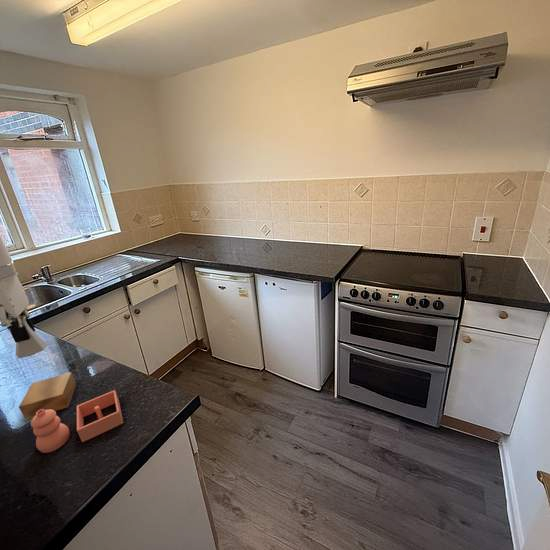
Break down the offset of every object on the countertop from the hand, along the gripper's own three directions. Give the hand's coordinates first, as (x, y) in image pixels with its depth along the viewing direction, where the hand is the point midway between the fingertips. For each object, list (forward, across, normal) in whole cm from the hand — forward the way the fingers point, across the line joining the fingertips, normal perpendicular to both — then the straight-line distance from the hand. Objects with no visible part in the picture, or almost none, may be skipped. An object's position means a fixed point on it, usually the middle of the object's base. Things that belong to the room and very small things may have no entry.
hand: (25, 336), depth 80 cm
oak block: (+21, +3, +1) cm, 21 cm away
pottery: (+21, +18, +11) cm, 30 cm away
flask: (+5, 0, 0) cm, 5 cm away
